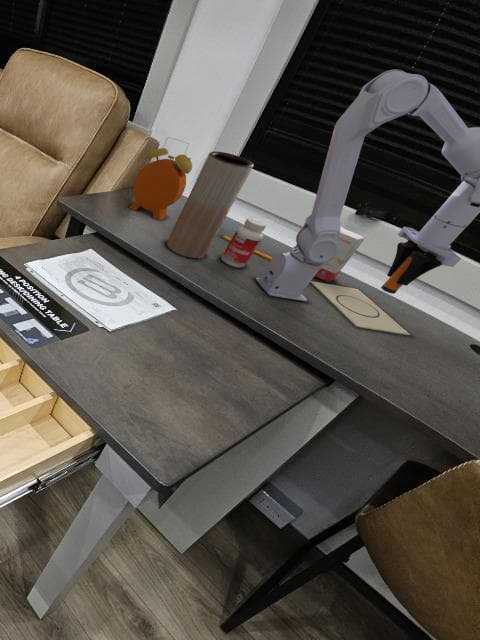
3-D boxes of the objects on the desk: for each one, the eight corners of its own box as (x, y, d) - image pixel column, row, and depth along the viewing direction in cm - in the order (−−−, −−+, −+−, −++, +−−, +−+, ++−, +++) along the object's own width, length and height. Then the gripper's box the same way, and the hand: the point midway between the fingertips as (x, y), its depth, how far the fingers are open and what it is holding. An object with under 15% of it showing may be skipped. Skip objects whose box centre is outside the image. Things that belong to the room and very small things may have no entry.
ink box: (334, 279, 120) (367, 237, 112) (326, 283, 117) (359, 240, 109) (303, 264, 124) (332, 222, 116) (294, 267, 122) (324, 224, 114)
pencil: (283, 267, 121) (285, 264, 121) (221, 238, 130) (223, 235, 130) (285, 266, 121) (286, 264, 121) (223, 237, 131) (224, 235, 130)
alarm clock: (172, 218, 136) (205, 146, 122) (164, 222, 132) (197, 148, 119) (132, 202, 141) (160, 131, 128) (124, 205, 137) (152, 133, 124)
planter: (208, 252, 120) (258, 162, 105) (197, 262, 114) (248, 168, 99) (173, 237, 124) (216, 148, 109) (160, 247, 118) (204, 154, 103)
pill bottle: (217, 260, 117) (241, 219, 110) (224, 254, 121) (247, 214, 113) (241, 270, 115) (267, 229, 107) (247, 264, 118) (272, 223, 111)
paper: (355, 326, 101) (357, 325, 101) (310, 282, 116) (311, 280, 116) (409, 335, 102) (410, 334, 102) (357, 290, 117) (358, 288, 117)
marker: (386, 292, 101) (418, 255, 95) (377, 286, 103) (409, 249, 97) (397, 294, 101) (431, 258, 95) (389, 288, 104) (422, 251, 98)
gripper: (496, 240, 86) (436, 300, 95) (441, 210, 97) (392, 267, 106) (462, 234, 86) (405, 295, 95) (411, 205, 97) (364, 262, 106)
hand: (396, 280), depth 101 cm, fingers closed on marker, 3 cm apart
